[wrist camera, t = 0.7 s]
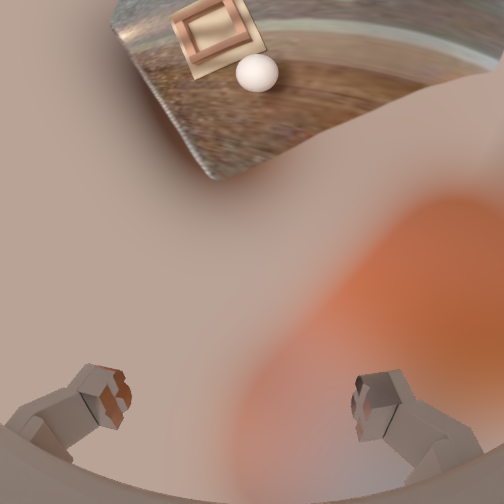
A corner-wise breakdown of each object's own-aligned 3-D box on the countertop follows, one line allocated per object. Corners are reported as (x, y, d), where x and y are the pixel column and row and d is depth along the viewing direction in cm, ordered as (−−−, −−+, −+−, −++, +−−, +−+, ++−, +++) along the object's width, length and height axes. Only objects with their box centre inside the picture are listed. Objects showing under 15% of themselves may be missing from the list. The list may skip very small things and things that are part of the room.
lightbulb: (249, 62, 40) (231, 50, 31) (285, 63, 39) (276, 50, 30) (248, 94, 43) (230, 90, 34) (283, 95, 42) (274, 91, 33)
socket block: (169, 17, 37) (161, 13, 35) (235, -15, 32) (230, -21, 30) (195, 80, 43) (188, 79, 41) (267, 50, 39) (263, 47, 36)
